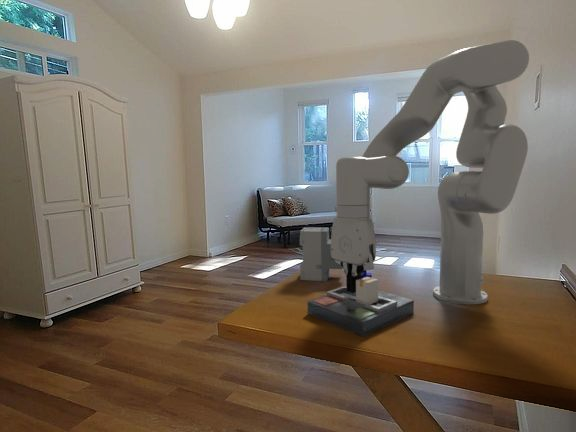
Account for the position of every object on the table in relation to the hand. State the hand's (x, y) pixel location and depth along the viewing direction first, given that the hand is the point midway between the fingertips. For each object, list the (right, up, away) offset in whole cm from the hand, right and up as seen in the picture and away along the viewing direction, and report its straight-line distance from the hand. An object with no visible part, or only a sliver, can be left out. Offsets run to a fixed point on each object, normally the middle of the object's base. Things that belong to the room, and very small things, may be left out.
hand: (353, 290), depth 84 cm
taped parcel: (+2, -2, -3) cm, 4 cm away
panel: (+1, -5, -1) cm, 5 cm away
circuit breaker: (-4, -2, +28) cm, 29 cm away
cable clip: (+8, -2, +26) cm, 27 cm away
